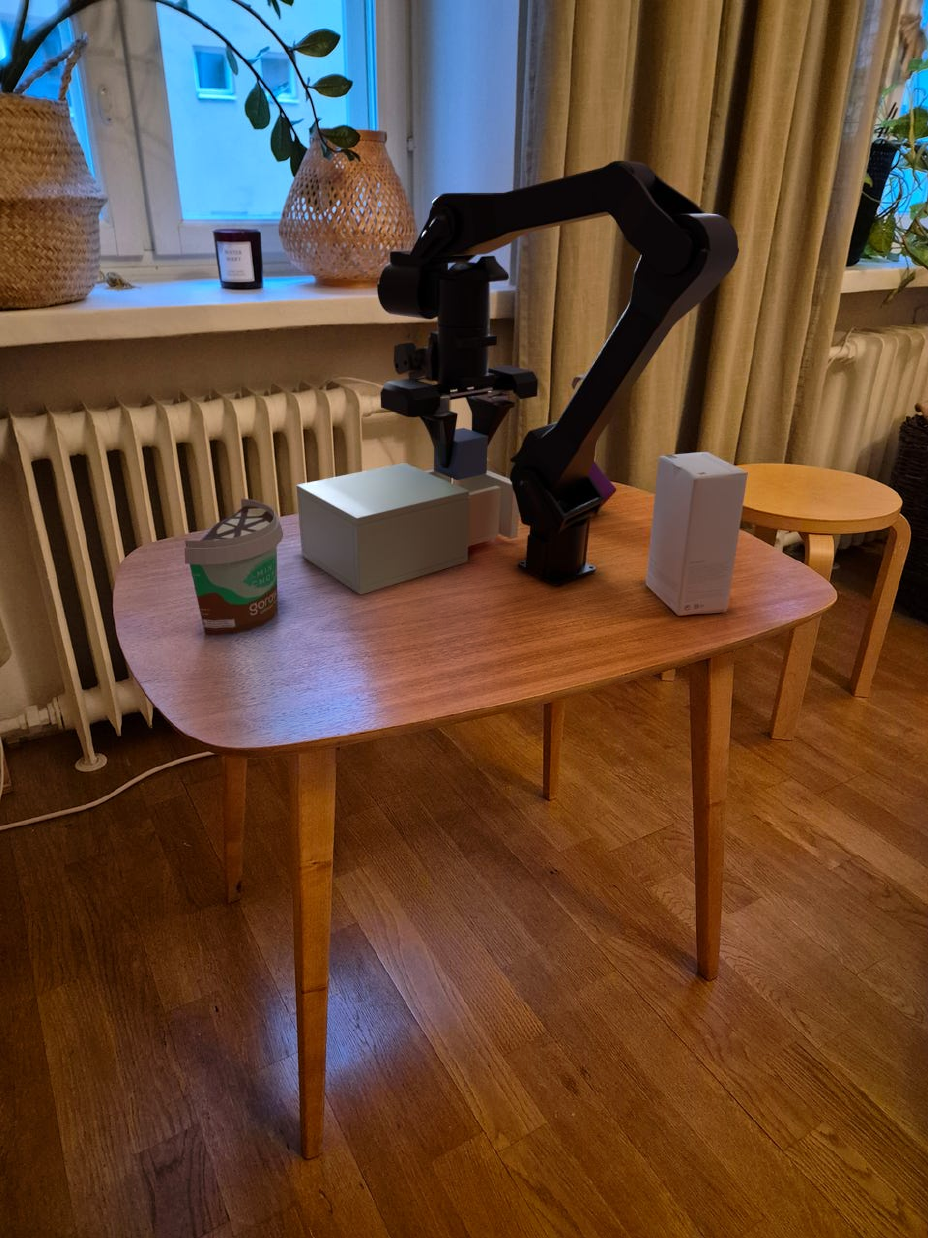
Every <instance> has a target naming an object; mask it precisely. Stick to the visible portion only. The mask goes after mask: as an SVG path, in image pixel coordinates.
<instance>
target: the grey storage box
mask: <svg viewBox="0 0 928 1238" xmlns="http://www.w3.org/2000/svg"><path fill="white" fill-rule="evenodd" d="M425 471H426V470H422V469H420V468H418V467H416V466H412V465H411V464H408V463H406V462H401V463H395V464H391V465H387V466H386V465H385V466H382V467H377V468H372V469H366V470H363V471H358V472H357V471H356V472H353V473H348V474H343V475H342V474H341V475H338V476H334V477H329V478H324V479H319V480H315V481H309V482H303V483H299V484H296V496H297V497H296V498H297V511H298V520H299V522H298V523H299V534H300V535H299V537H300V549H301V557H303V558H304V559H306V560H307V561H309V562H310V563H312V564H313V565H315V566H316V567H318V568H319V569H321V570H323V571H324V572H325V573H326V574H329V575H330V576H331V577H333V578H334V579H335V580H337V581H339V582H340V583H341V584H343V585H344V586H346V587H347V588H349V589H350V590H352V591H353V592H355V593H357V594H358V595H359V596H361V595H364V594H368V593H371V592H374V591H377V590H382V589H384V588H387V587H390V586H393V585H397V584H400V583H403V582H406V581H409V580H413V579H416V578H420V577H423V576H426V575H429V574H433V573H437V572H439V571H441V570H445V569H448V568H453V567H455V566H458V565H461V564H464V563H468V559H469V552H468V551H469V546H468V526H469V490H466V489H464V488H462V487H459V486H457V485H455V484H453V482H452V483H450V482H448V481H445V480H443V479H441V478H439V477H436V476H434V475H432V474H429V473H427V472H425Z"/></svg>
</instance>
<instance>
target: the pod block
mask: <svg viewBox="0 0 928 1238" xmlns="http://www.w3.org/2000/svg"><path fill="white" fill-rule="evenodd" d="M488 447H489V445H488V436H486V435H483V434H480V433H477V432H475V431H472V429H468V428H466V427H460V428H456V429H455V436H454V443H453V450H452V456H451V460H450V464H449V468H447V469H445V468H443V467H441V466H440V463H439V460H438V457H437V455H436V452H435V449H434V448H433V469H434V471H436V472H438V473H441V474H443V475H446V476H448V477H450V478H452V480H453V479H455V480H460V479H465V478H469V477H473V476H478V475H482V474H486V473H487V470H488V449H489V448H488Z"/></svg>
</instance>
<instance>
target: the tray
mask: <svg viewBox="0 0 928 1238" xmlns="http://www.w3.org/2000/svg"><path fill="white" fill-rule="evenodd" d="M424 471H425V472H427V473H429V474H432V475H434V476H436V477H439V478H441V479H443V480H445V481H448V482H450V483H452V484H455V485H457V486H459V487H462V488H464V489H466V490H469V526H468V547H471V546H474V545H477V544H482V543H483V542H488V541H491V540H495V539H498V538H499V535H501V536H503V537H505V538H507V539H509V540H512V539H516V538H518V536H519V535H518V534H519V519H520V513H519V509H518V505H517V500H516V496H515V493H514V490H513V488H512V482H511V481H510V478H509V477H506V476H503V475H501V474H498V473H495V472H492V471H490V470H488V469H487V473H486V474H482V475H478V476H473V477H469V478H465V479H460V480H455V479H453V478H450V477H448V476H446V475H443V474H441V473H438V472H436V471H434V468H433V469H428V470H424Z"/></svg>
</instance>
